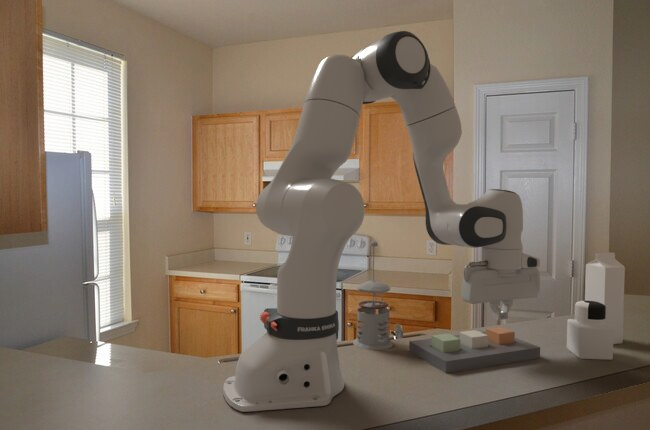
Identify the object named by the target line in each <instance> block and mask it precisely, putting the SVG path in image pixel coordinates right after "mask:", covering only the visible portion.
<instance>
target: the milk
mask: <svg viewBox="0 0 650 430" xmlns="http://www.w3.org/2000/svg"><path fill="white" fill-rule="evenodd" d="M625 273H626V267H625V266H624V265H623V264H622V263H621V262H620V261H619V260H617V259H616V252H597V253H595V259H594V260H592V261H590V262H587V263H586V264H585V276H584V277H585V278H584V279H585V281H584V282H585V283H584V284H585V286H584V301H595V302H599V303H602V304H603V305H605V307H606V316H605V322H604V323H605V324H606V325H608V326H610V327H612V328H613V329H614V336H613V345H618V344H623V341H624V340H623V338H624V337H623V336H624V333H623V332H624V311H625V310H624V309H625V308H624V305H625V303H624V302H625V279H626V278H625V277H626V276H625V275H626V274H625Z"/></svg>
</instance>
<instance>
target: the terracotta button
mask: <svg viewBox="0 0 650 430" xmlns="http://www.w3.org/2000/svg"><path fill="white" fill-rule="evenodd" d="M485 332H486V335H488V341H490V342H493V343H495V344H497V345H504V344H511V343H514V338H516V335H515V333H516V332H515V331H513V330H511V329H508V328H505V327H502V326H498V327H489V328H485Z"/></svg>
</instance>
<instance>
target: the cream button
mask: <svg viewBox="0 0 650 430" xmlns="http://www.w3.org/2000/svg"><path fill="white" fill-rule="evenodd" d="M481 332H482V331H478V330H476V329H474V330H473V329H472V330H466V331H464V330H463V331H460V332H459V335H460V337H459V339H460V344H462V345H464V346H466V347H468V348H470V349H476V348H483V347H488V335H486V334H483V333H481Z"/></svg>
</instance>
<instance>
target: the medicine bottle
mask: <svg viewBox="0 0 650 430" xmlns="http://www.w3.org/2000/svg"><path fill="white" fill-rule="evenodd" d="M605 316H606V307H605V305H603V304H602V303H599V302H595V301H585V300H579V301H577V302H576V303H575V305H574V318H568V319H567V324H566V325H567V326H566V327H567V328H566V349H567V350H569V351H570V353H572V354H573V355H574V356H576V357H577V358H578V359H581V360H583V359H584V360H603V361H604V360H605V361H607V360H608V361H612V360H613V358H614V344H613V336H614V329H613V328H612V327H610V326H608V325H606V324H605V323H604V322H605Z"/></svg>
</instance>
